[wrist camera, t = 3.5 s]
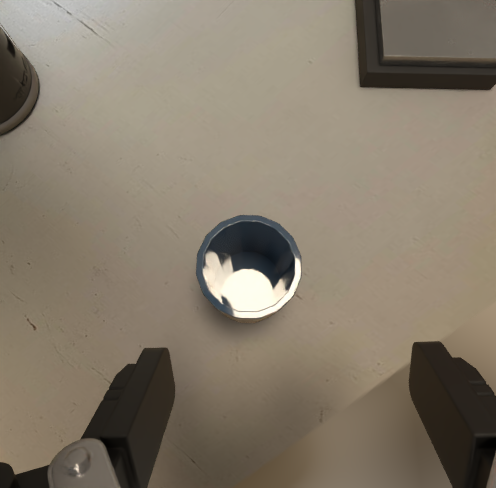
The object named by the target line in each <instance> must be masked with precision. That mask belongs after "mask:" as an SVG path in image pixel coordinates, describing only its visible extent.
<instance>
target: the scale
mask: <svg viewBox="0 0 496 488" xmlns="http://www.w3.org/2000/svg"><path fill="white" fill-rule="evenodd" d="M356 17H357V34H358V52H359V69H360V86H361V87H397V88H444V89H491V88H492V87H493V86H494V85H495V84H496V0H356Z"/></svg>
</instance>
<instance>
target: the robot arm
mask: <svg viewBox="0 0 496 488" xmlns="http://www.w3.org/2000/svg"><path fill="white" fill-rule="evenodd" d="M0 24H1V23H0ZM1 26H2V25H1ZM2 27H3V26H2ZM3 28H4V27H3ZM4 30H5V29H4ZM5 31H6V30H5ZM6 32H7V31H6ZM7 34H8V33H7ZM8 35H9V34H8ZM9 37H10V36H9ZM9 37H8V36H7V35H6V33H5V32H4V31H3V29H2V28H1V27H0V134H3V133H5V132H7V131H9V130H11V129H12V128H14V127H15V126H17V125H18V124H19V123H20V122H22V121H23V120H24V119H25V118H26V116H27V115H28V114H29V113H30V111H31V110H32V108H33V106H34V104H35V102H36V99H37V95H38V89H39V83H38V77H37V74H36V71H35V69H34V67H33V66H32V64H31V63H30V62H29V60H28V59H27V58H26V57H25V56H24V54H23V53H22V52H21V51H19V50H20V49H19V48H18V47H16V46H17V45H16V44H15V43H14V44H15V45H16V46H15V45H14V44H13V42H14V41H13V40H12V41H13V42H12V41H11V40H10V39H9ZM10 38H11V37H10ZM11 39H12V38H11ZM17 48H18V49H19V50H18V49H17ZM409 390H410V395H411V398H412V401H413V403H414V405H415V408H416V410H417V412H418V414H419V416H420V418H421V420H422V423H423V425H424V427H425V429H426V431H427V433H428V435H429V437H430V439H431V441H432V444H433V446H434V448H435V450H436V453H437V454H438V457H439V459H440V461H441V463H442V465H443V468H444V470H445V472H446V474H447V476H448V478H449V480H450V482H451V484H452V487H453V488H496V396H495V395H494V392H493V391H492V389H491V388H490V387H489V385H487V384H486V381H485V380H484V379H483V377H482V376H481V375H480V373H479V372H478V371H477V370H476V368H474V367H473V366H471V365H470V364H469V363H467V362H466V361H465V360H463V359H462V358H452V357H451V355H450V354H449V352H448V351H447V350H446V348H445V347H444V345H443V344H442V343H441V342H439V341H435V342H414V344H413V347H412V356H411V365H410V374H409ZM174 398H175V382H174V377H173V371H172V365H171V360H170V354H169V350H168V349H167V348H145V349H143V351H142V353H141V355H140V357H139V359H138V361H137V363H136V364H128V365H127V366H125V367H124V368H123V369H122V370H121V371H120V372H119V373H118V374H117V375H116V376H115V378H114V380H113V381H112V383H111V385H110V387H109V390H108V391H107V392H106V394H105V396H104V399H103V400H102V401H101V403H100V405H99V407H98V409H97V410H96V412H95V414H94V416H93V418H92V419H91V421H90V423H89V425H88V427H87V428H86V430H85V432H84V434H83V436H82V437H81V439H80V440H78V441H75V442H73V443H71V444H69V445H68V446H66V447H65V448H63V449H62V450H61V451H60V452H59V453H58V454H57V455H56V456H55V457H54V459H53V460H52V462H51V463H50V465H47V466H44V467H41V468H37V469H34V470H30V471H27V472H23V473H20V474H17V475H15V474H14V471H13V469H12V467H11V466H10V465H9V464H7V463H3V462H0V488H147V486H148V483H149V480H150V476H151V473H152V470H153V467H154V464H155V461H156V457H157V454H158V451H159V448H160V445H161V442H162V438H163V435H164V432H165V429H166V426H167V423H168V419H169V416H170V413H171V410H172V407H173V403H174Z"/></svg>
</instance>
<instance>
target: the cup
mask: <svg viewBox="0 0 496 488" xmlns="http://www.w3.org/2000/svg"><path fill="white" fill-rule="evenodd" d="M196 276H197V279H198V281H199V284H200V287H201V290H202V292H203V294H204V296H205V297H206V298H207V299H208V300H209V301H210V302H211V303H212V304H213V305H214V306H215V307H216V309H217V310H219V311H220V312H221V313H222V314H223V315H224V316H226V317H228V318H230V319H232V320H234V321H237V322H240V323H256V322H259V321H262V320H264V319H266V318H269V317H270V316H272V315H273V314H275V313H276V312H278V311H279V310H280V309H281V308H282V307H283V306H284V305H285V304H286V303H287V302H288V301H289V300H290V299H291V298H292V297H293V296H294V294H295V291H296V289H297V287H298V284H299V282H300V279H301V255H300V252H299V250H298V248H297V245H296V243H295V241H294V238H293V237H292V236H291V235H290V234H289V233H288V232H287V231H286V230H285V229H284V228H283V227H282V226H281V225H280V224H278V223H277V222H274V221H272V220H270V219H267V218H265V217H262V216H258V215H239V216H236V217H233V218H231V219H228V220H225V221H223V222H221V223H219V224H218V225H217V226H216V227H215V228H214V229H213V230H212V231H211V232H209V233H208V234H207V235H206V237H205V239H204V241H203V243H202V245H201V247H200V249H199V251H198V253H197V266H196Z"/></svg>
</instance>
